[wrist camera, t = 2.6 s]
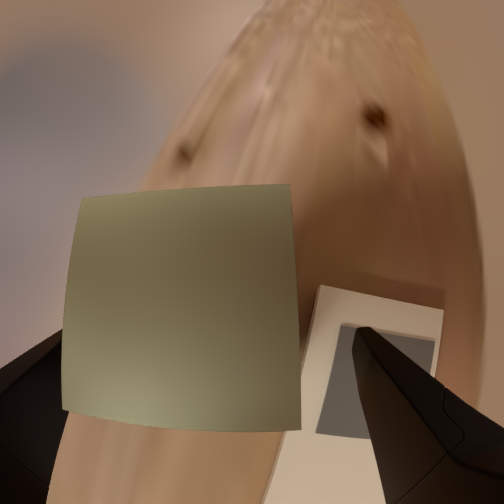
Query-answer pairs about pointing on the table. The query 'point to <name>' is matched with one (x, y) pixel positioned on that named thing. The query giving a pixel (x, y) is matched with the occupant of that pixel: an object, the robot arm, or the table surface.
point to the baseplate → (344, 399)
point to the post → (184, 310)
